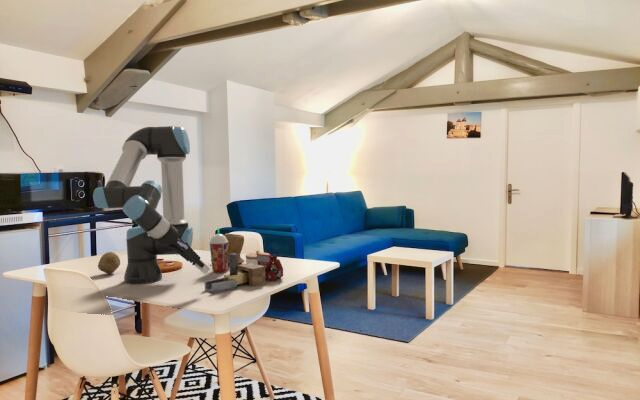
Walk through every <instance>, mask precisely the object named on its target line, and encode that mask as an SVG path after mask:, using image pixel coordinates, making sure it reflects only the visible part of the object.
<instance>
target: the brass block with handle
mask: <svg viewBox="0 0 640 400" xmlns="http://www.w3.org/2000/svg"><path fill="white" fill-rule="evenodd" d="M238 265H239V264H238V256H237V253H232V254H229V264H228V266H229V273H228V274H224V275H223V278H224V281H228V280H233V279H236V283H237V285H238V284H239V285H240V284H245V283H249V271H243V272H238ZM244 282H245V283H244Z"/></svg>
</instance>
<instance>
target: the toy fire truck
mask: <svg viewBox="0 0 640 400" xmlns="http://www.w3.org/2000/svg"><path fill="white" fill-rule="evenodd" d="M257 261H258V265H261V266H265V280H266V281H268V282H273V281H275V280H276V279H277V280H279V279H281V278H283V277H284V267H283V265H282V262H281V260H280V259H279V258H278V256H277V255H276V254H273V255H271V254H270V255H265V254H258V255H257Z"/></svg>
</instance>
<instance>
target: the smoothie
mask: <svg viewBox="0 0 640 400" xmlns="http://www.w3.org/2000/svg"><path fill="white" fill-rule="evenodd" d="M224 235H225V234H223V233H220V227H217V233H216V234H214V235H213V236H212V237H211V239H210V241H209V249H210V261H211V268H212V270H213V273H215V274H220V273H221V274H222V273H225V272H227V270H228V269H229V267H228V266H229V264H228V240H227V238H226V237H225V236H224Z"/></svg>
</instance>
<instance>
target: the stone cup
mask: <svg viewBox="0 0 640 400" xmlns="http://www.w3.org/2000/svg"><path fill="white" fill-rule="evenodd" d="M223 235H224V236H225V237H226V238H227V240H228V265H229V254H232V253H237V256H238V265H241V264H244V263H245V260H244V259H243V258H241V253H242V250H243V247H244V244H245V236H244V235H243V234H242V235H241V234H234V233H225V234H223Z"/></svg>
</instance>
